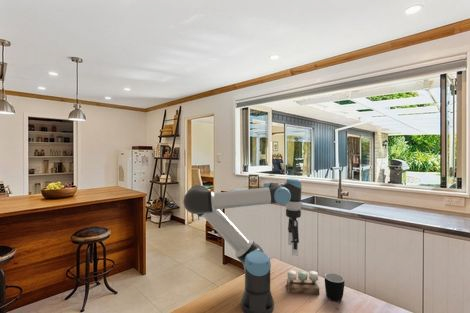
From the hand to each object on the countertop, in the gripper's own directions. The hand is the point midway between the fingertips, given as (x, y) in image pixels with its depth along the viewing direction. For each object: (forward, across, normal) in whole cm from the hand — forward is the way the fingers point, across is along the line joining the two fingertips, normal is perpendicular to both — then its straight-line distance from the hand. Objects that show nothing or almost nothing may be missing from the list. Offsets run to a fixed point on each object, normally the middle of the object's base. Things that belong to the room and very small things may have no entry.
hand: (292, 249), depth 129 cm
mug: (+20, -5, -20) cm, 29 cm away
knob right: (+17, 0, -11) cm, 20 cm away
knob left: (+17, 0, 0) cm, 17 cm away
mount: (+20, 0, -5) cm, 21 cm away
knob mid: (+17, 0, -5) cm, 18 cm away
